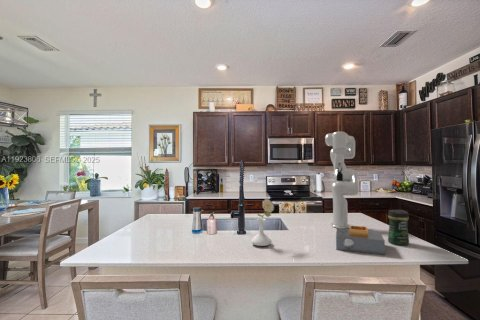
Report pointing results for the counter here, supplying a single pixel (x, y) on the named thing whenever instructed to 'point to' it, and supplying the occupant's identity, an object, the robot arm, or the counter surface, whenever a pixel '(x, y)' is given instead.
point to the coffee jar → (398, 227)
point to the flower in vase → (261, 237)
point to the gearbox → (360, 240)
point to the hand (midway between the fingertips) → (339, 180)
